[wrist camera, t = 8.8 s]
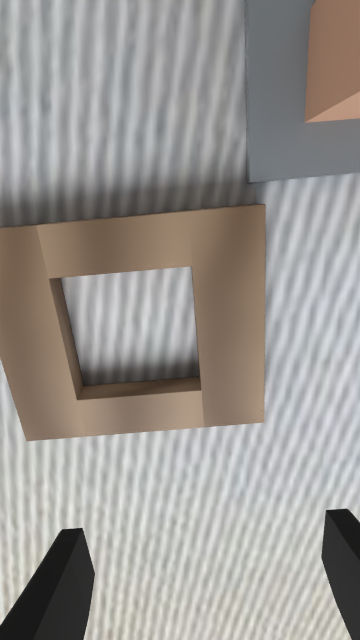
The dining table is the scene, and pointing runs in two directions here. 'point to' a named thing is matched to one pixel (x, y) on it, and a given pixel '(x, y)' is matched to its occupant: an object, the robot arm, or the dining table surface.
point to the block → (333, 61)
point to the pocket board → (124, 256)
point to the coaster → (288, 100)
